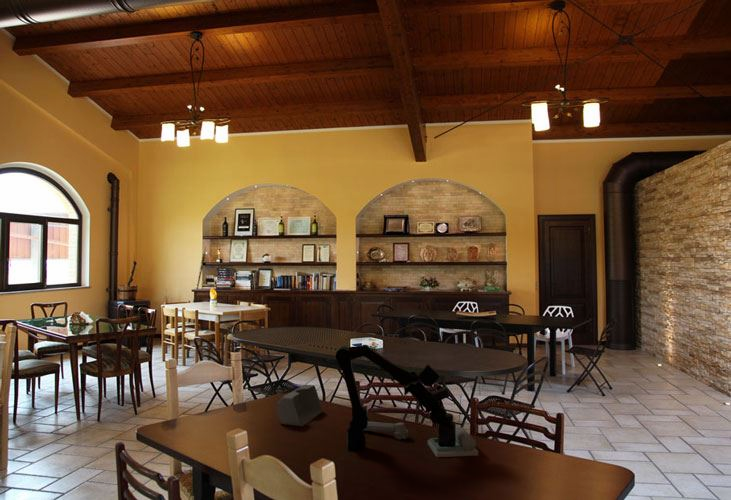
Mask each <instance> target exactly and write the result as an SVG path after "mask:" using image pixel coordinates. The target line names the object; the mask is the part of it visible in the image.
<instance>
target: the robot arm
mask: <svg viewBox="0 0 731 500" xmlns="http://www.w3.org/2000/svg"><path fill="white" fill-rule="evenodd" d="M363 357H364V358H366V359H368V360H369V361H371V362H372V363H374V364H375V365H377V366H378V367H379V368H381V369H383V370H384V371H386V372H387V373H389V375H390V376H391V377H392V378H393V379H394V380H395V381H396V382H397V383H398V384H399V385H401V386H403V391H404V394H403V395H404V396H407V395H408V394H410V395H411V396H412V397H413V398H414V399H415V400H416V401H417V402H418V404H419V405H420V406H422V407H423V408H424V409H425V410H426V412H427V413H428V414H429V416H428V417H429V418H428V419H429V420H430V421H431V422H432V423H433V424H437V425H438V424H440V425H442V426H445V427H447V428H450V429H452V428H453V426H452V424H451V423H450V422H449V420H448V419H447V417H446V413H447V411H446V409H445V408H444V407H443V403H444V402H443V400H444V399H448V398H450V396H451V395H450V393H449V391H448V389H447V387H446V386H442V385H441V384H438V385H436V389H435V390H434V391H432V390H429V389H427V387H432V386H433V385H434V384H435V383H436V382H437V381H439V379H440V378H441V377H442V376H441V375H440V373H439V372H438V371H437V370H436V369H435V368H433V367H432V366H431V365H430V364H428V363H427V364H426V365H425V367H423V369H422V370H421V371H420V372H418V371H411V370H410V369H408V368H407V367H404V366H402V365H400V364H398V363H397V364H396V363H394V362H392V361H391V360H389V359H388V358H387V357H385V356H383V355H382V354H380V353H379V352H377V351H376V350H374V349H373V348H371V347H370V346H369V345H368V344H362V345H356V346H349V347H348V346H346V345H343V346H339V348H337V351H336V353H335V360H336V362H337V364H338V366H339V368H340V369H341V372H342V374H343V377H344V381H345V385H346V390H347V393H348V397H349V402H350V405H351V416H352V418H351V420H350V421H349V422H348V426H347V429H346V433H347V434H346V436H347V437H346V438H347V439H346V448H347V451H351V452H352V451H365V450H366V449H365V447H366V435H365V431H363V430H364V429H365V428H366V427H367V425H368V422H369V421H370V414H369V411H368V406H367V405H363V403H362V399H361V396H360V392H359V390H358V389H359V388H358V384H357V381H356V377H355V373H354V368H353V360H355V359H359V358H363Z"/></svg>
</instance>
